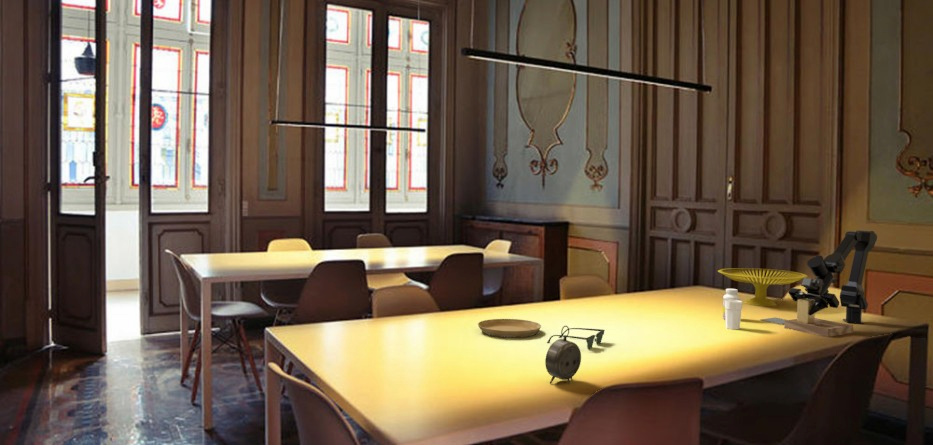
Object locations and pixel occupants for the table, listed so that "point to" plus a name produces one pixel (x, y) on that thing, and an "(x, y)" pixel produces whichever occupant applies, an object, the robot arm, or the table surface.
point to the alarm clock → (563, 359)
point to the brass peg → (805, 311)
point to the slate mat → (775, 320)
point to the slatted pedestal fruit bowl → (761, 282)
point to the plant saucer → (509, 327)
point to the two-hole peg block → (820, 327)
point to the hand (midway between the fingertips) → (803, 313)
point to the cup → (733, 313)
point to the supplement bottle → (729, 297)
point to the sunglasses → (589, 339)
